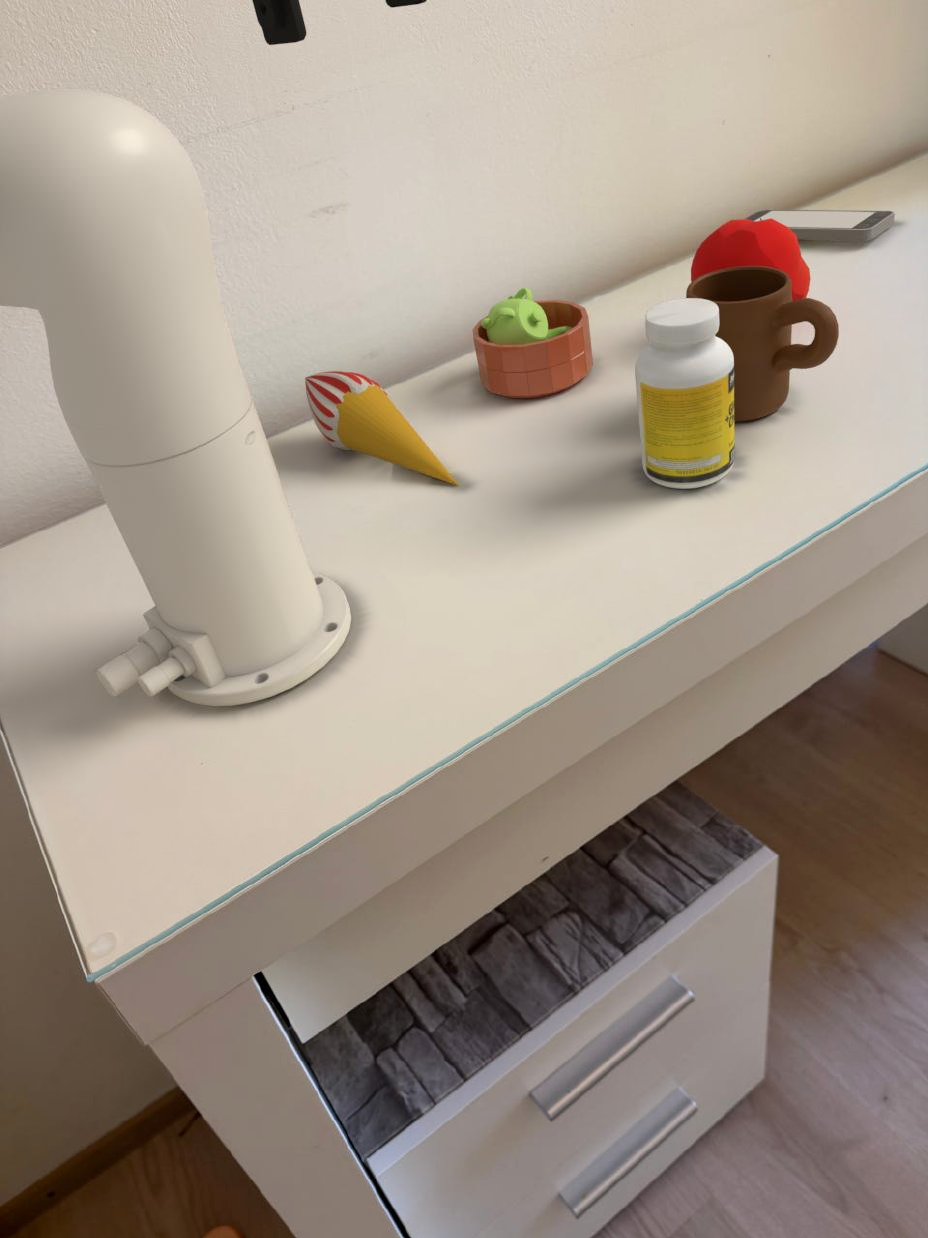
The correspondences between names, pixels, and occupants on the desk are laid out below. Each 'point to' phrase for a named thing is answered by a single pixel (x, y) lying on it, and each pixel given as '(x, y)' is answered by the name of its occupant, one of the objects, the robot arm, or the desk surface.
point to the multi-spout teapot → (519, 321)
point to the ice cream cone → (368, 422)
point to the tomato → (754, 251)
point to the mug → (764, 333)
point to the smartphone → (830, 223)
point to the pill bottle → (685, 395)
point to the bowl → (538, 356)
